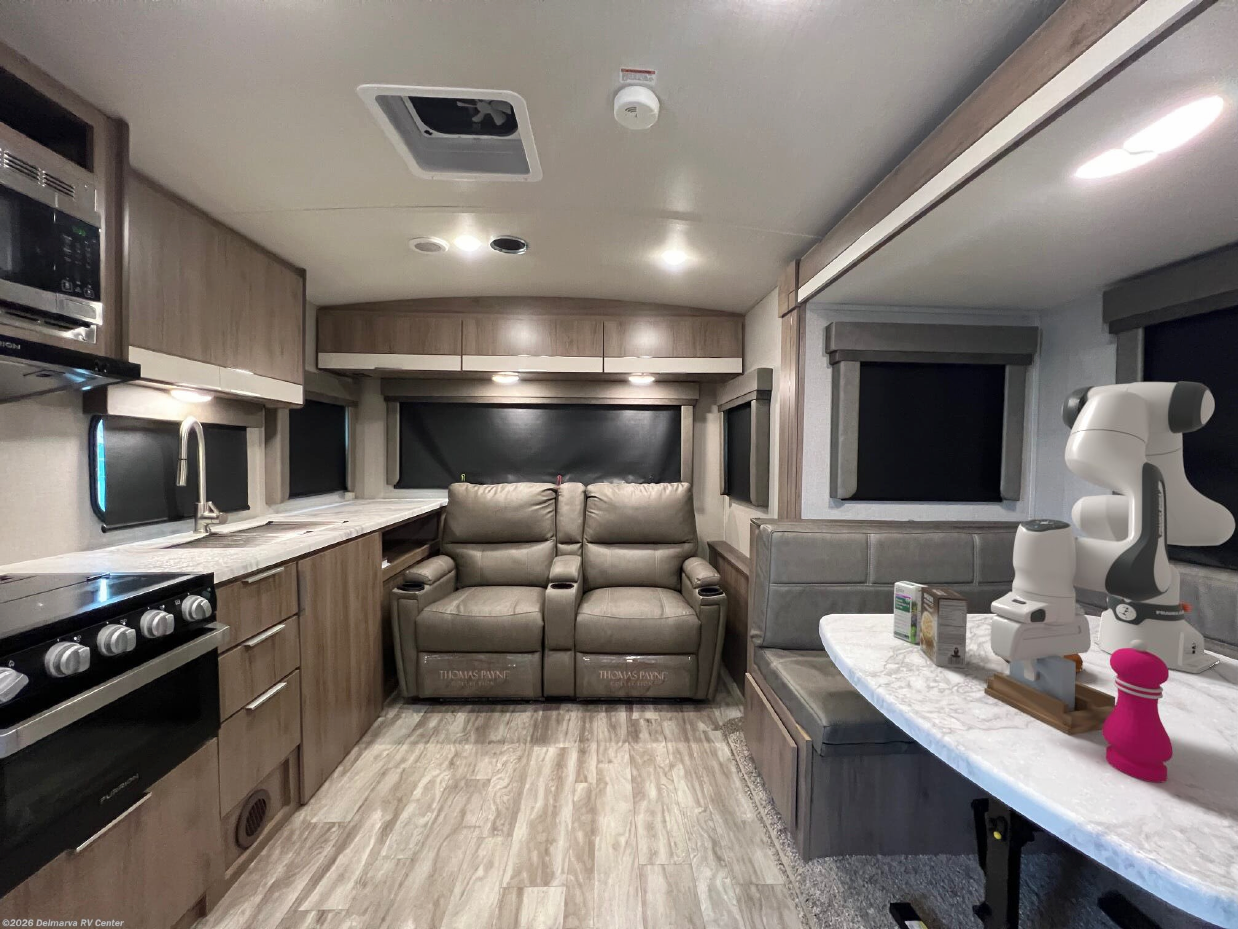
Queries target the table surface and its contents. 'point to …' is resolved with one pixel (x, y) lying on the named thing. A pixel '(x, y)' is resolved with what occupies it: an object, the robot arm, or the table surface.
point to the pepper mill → (1138, 715)
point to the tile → (1050, 678)
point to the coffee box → (943, 626)
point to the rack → (1054, 704)
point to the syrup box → (907, 611)
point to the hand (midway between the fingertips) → (1040, 678)
